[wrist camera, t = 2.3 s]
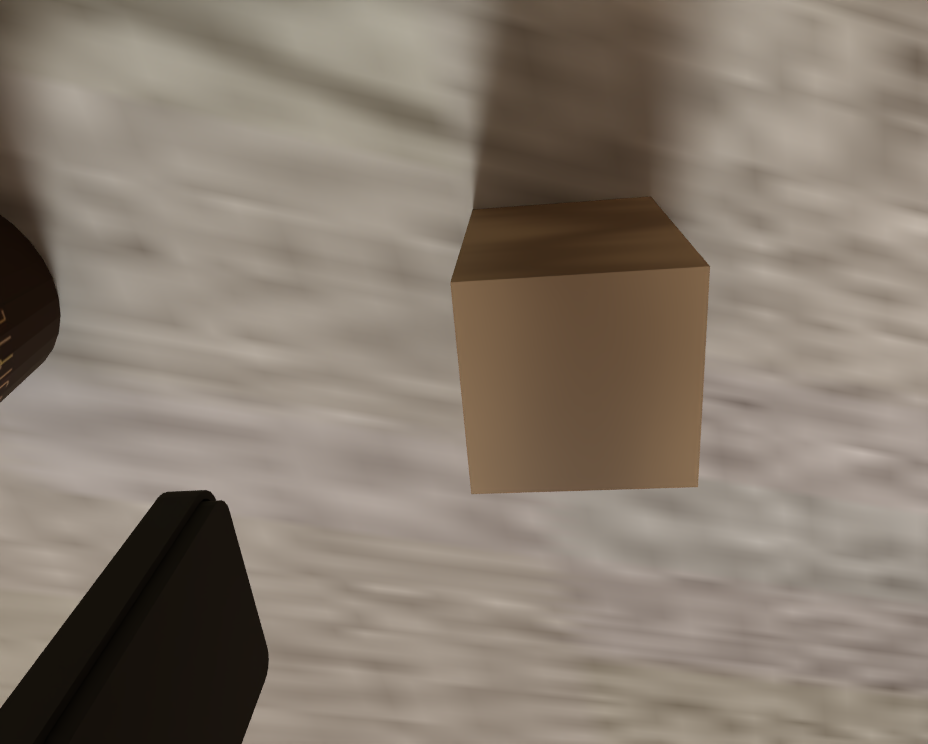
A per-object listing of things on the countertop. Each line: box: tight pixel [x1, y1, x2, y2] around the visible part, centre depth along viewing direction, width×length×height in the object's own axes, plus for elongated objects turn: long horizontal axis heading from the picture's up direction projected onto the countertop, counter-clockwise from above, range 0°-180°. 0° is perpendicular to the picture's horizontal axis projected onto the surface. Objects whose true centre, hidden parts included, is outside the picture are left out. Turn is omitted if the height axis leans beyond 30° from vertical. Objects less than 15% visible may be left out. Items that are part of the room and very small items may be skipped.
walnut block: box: [451, 197, 710, 494], centre depth 18 cm, size 5×5×7 cm
